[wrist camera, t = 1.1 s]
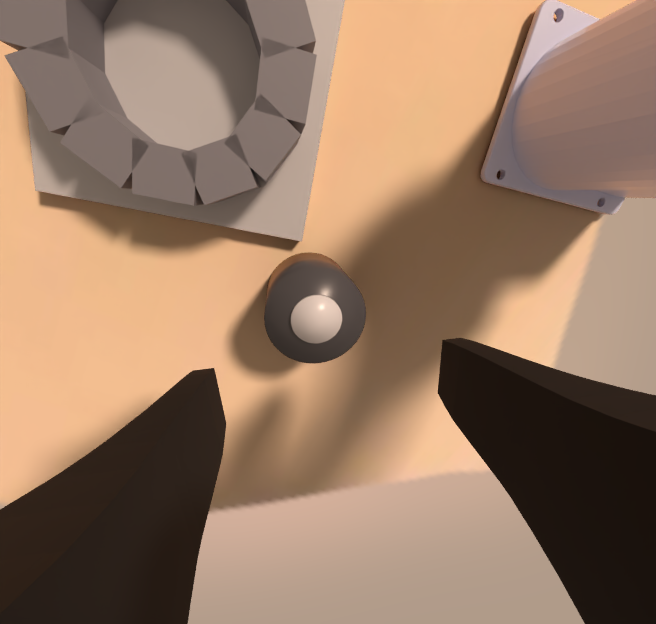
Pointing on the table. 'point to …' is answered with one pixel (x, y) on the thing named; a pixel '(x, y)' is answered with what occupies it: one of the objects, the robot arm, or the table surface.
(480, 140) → the table surface
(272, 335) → the grey cylinder
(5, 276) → the table surface
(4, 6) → the segmented ring plate
